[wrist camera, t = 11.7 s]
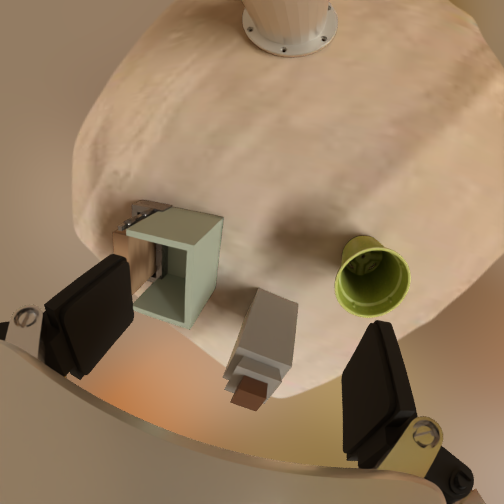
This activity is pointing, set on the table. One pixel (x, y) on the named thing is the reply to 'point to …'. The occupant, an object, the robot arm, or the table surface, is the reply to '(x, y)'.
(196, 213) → the box
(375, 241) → the plant pot
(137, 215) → the grey brown open box
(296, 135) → the table surface
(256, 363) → the perfume bottle
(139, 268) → the door
